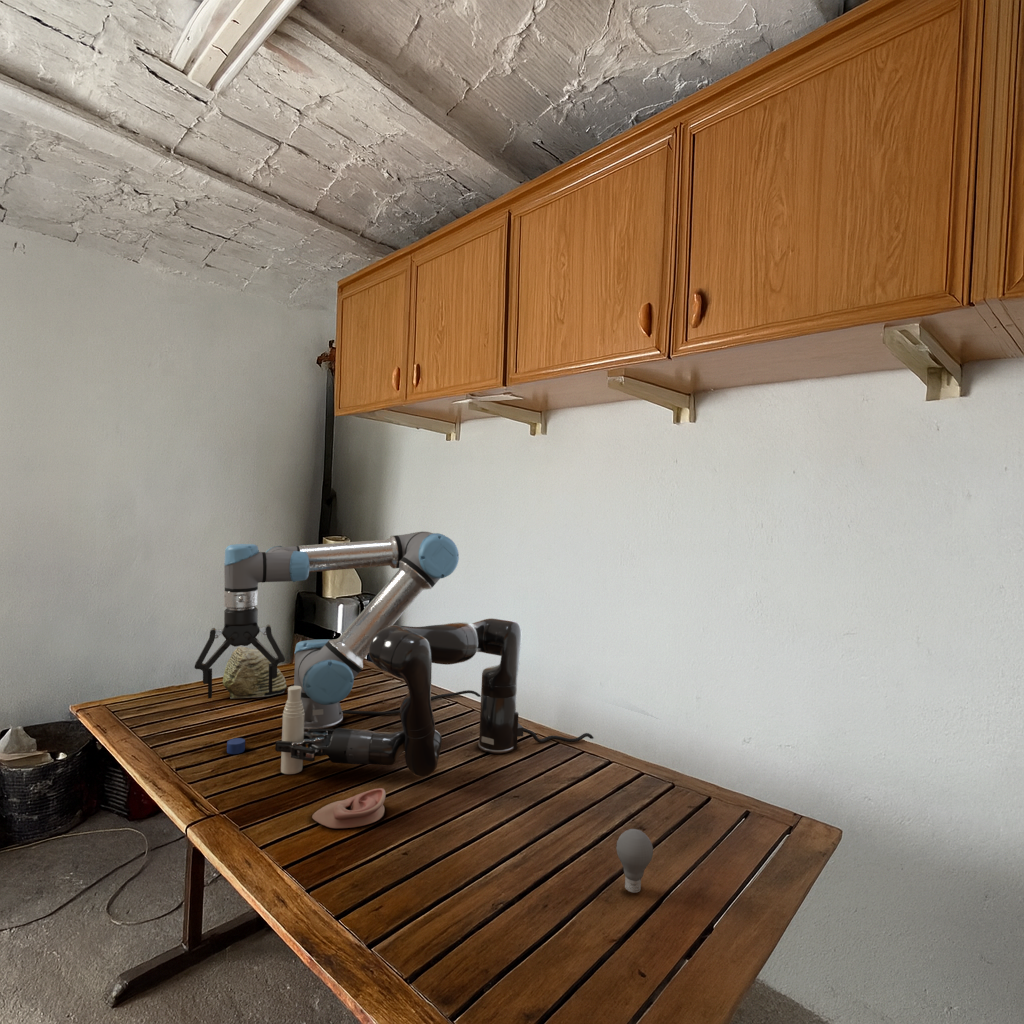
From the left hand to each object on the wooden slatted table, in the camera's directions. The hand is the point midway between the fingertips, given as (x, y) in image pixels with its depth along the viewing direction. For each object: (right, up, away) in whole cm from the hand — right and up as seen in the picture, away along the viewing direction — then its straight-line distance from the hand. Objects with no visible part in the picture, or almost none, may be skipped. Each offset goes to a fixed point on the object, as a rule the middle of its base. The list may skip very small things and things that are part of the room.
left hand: (240, 693), depth 155 cm
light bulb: (+87, -19, -50) cm, 102 cm away
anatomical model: (+34, -16, -29) cm, 47 cm away
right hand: (+13, -8, -9) cm, 18 cm away
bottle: (+16, -15, -9) cm, 23 cm away
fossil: (-14, -13, +43) cm, 47 cm away
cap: (-1, -12, 0) cm, 12 cm away
